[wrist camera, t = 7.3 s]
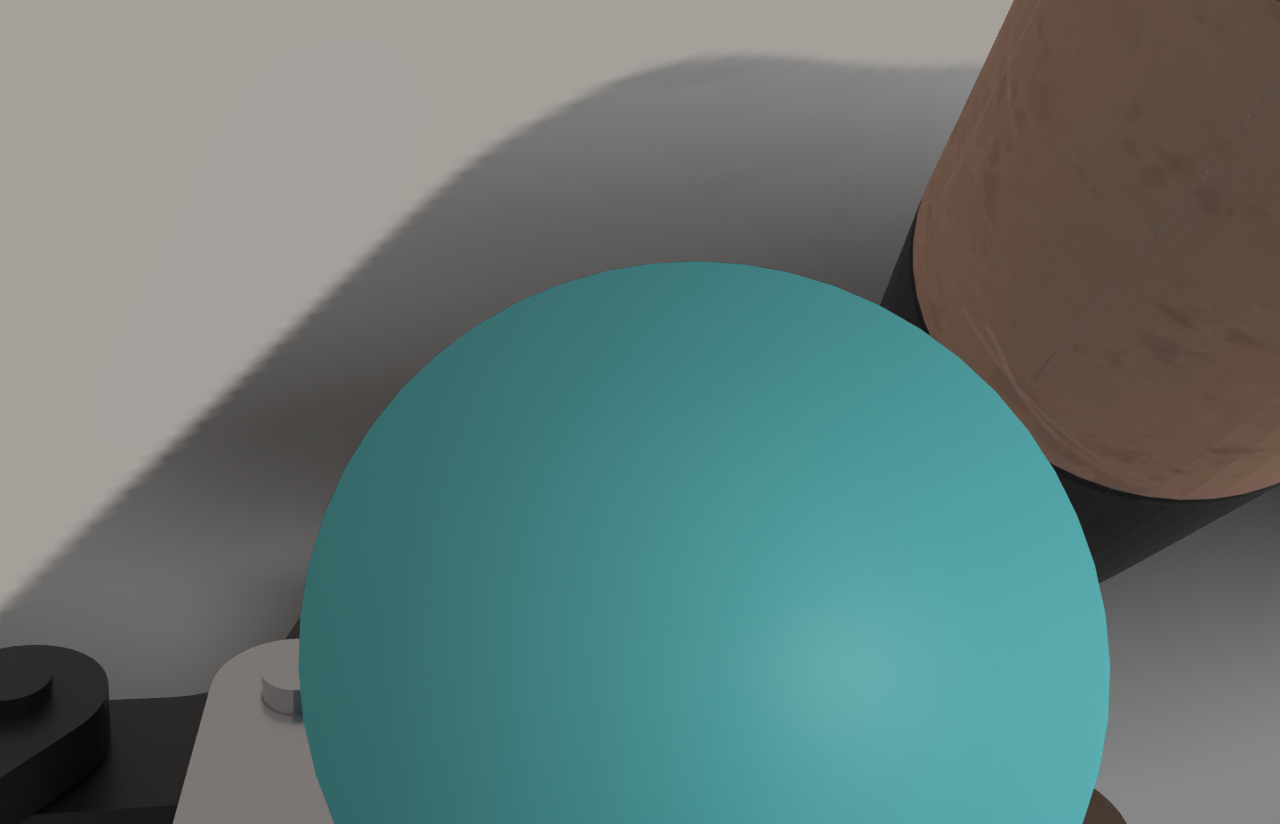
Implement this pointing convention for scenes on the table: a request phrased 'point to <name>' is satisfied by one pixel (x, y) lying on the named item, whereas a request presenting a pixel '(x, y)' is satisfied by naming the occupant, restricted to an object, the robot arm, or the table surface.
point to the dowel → (702, 575)
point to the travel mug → (1118, 255)
